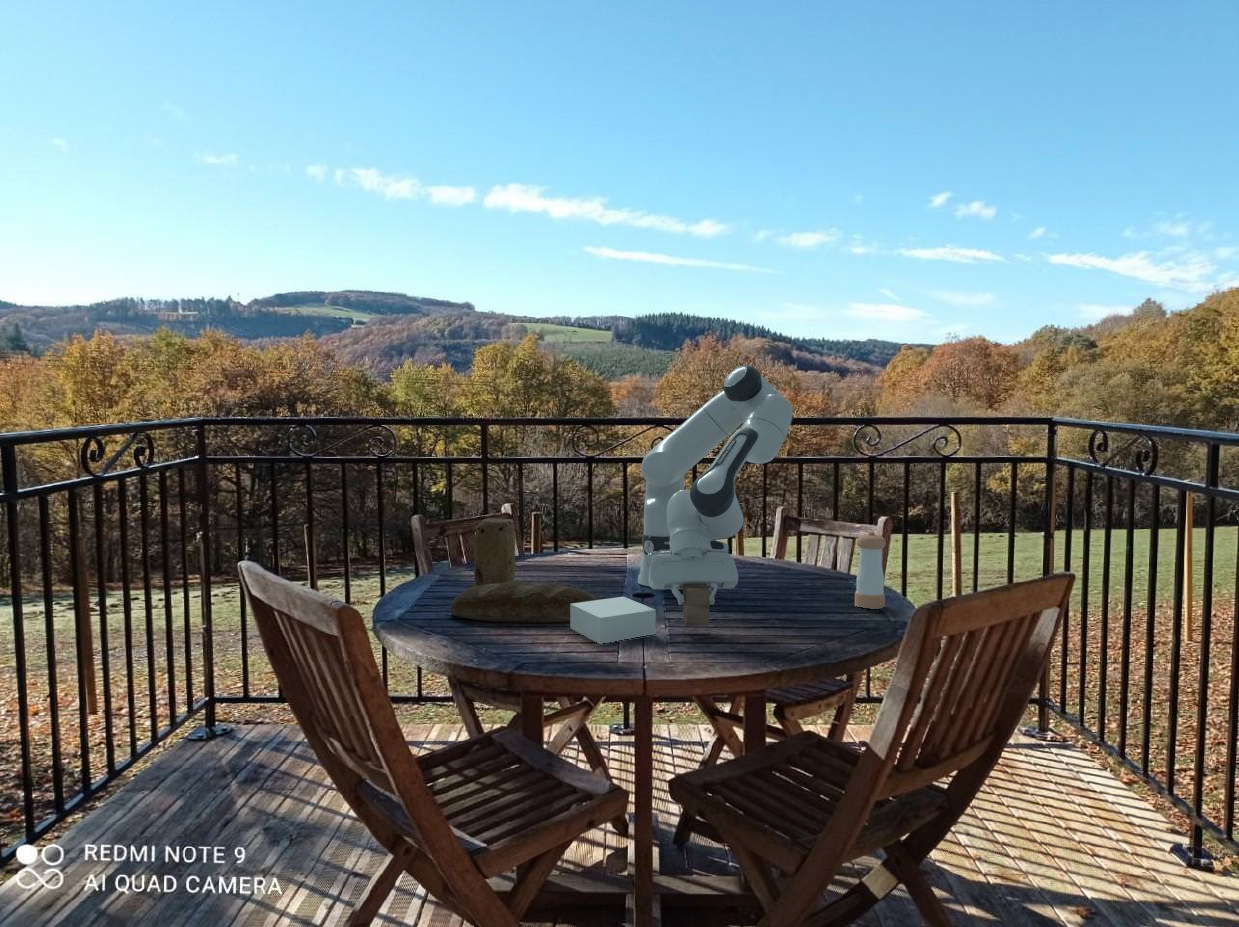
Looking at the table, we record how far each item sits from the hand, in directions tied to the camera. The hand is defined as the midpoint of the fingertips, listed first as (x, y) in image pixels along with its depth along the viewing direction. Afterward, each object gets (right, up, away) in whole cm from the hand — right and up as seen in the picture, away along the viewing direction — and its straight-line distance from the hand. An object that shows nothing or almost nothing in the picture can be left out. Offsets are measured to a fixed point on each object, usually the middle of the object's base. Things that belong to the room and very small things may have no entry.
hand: (696, 603), depth 174 cm
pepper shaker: (+46, -5, +25) cm, 53 cm away
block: (-51, -4, +39) cm, 64 cm away
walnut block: (0, -4, +1) cm, 4 cm away
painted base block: (-19, -7, +2) cm, 20 cm away
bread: (-40, -6, +16) cm, 43 cm away
